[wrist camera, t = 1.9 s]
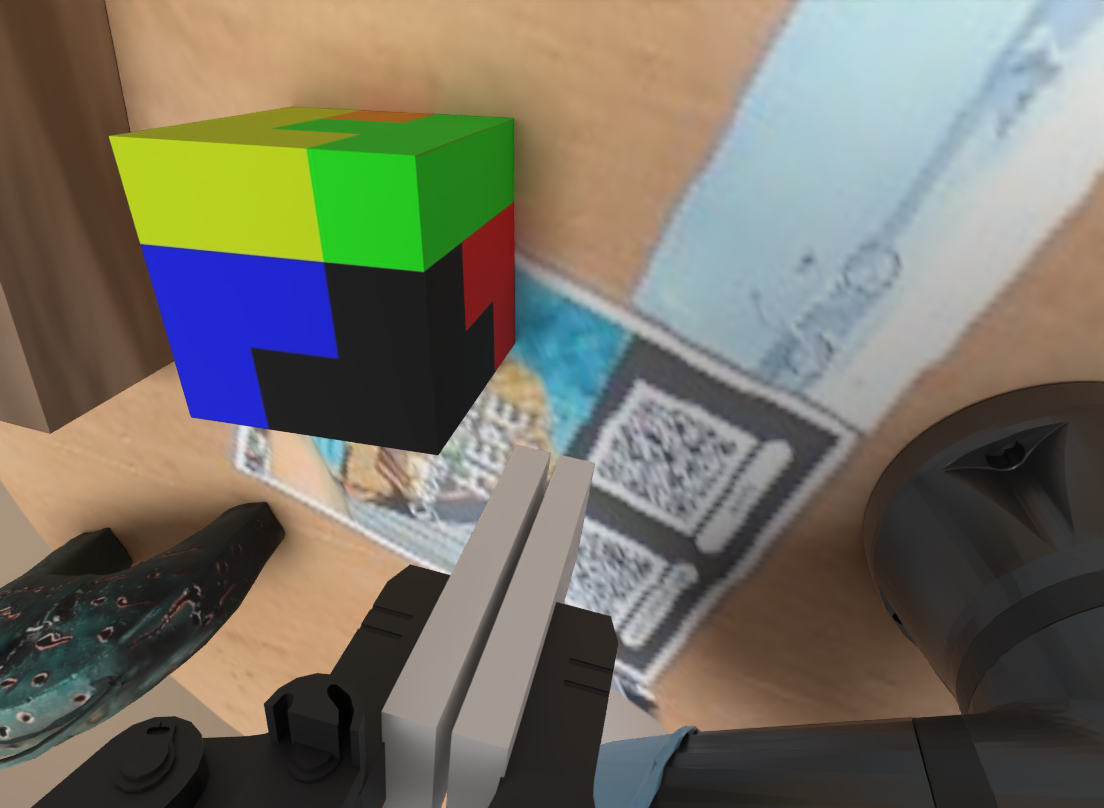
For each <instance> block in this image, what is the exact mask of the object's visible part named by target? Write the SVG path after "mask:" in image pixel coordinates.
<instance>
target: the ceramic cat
mask: <svg viewBox="0 0 1104 808" xmlns="http://www.w3.org/2000/svg"><path fill="white" fill-rule="evenodd" d="M283 538H284V531H283V529H282V528H281V526H280V525H279V523H278V522H277V520H276V519H275V518H274V517H273V516H272V514H271V511H270V509H269V508H268V506H267V504H266V503H247V504H243V505H239V506H237V507H235V508H232V509H229V510H227V511H226V512H225V513H223V514H222V515H221V516H220V517H219V518H217V519H216V520H215V521H214V522H212V523H211V524H210V525H208V526H207V527H205V528H204V529H203V530H201V531H199V532H197V533H196V534H194V535H192V536H191V537H189V538H188V539H186V540H184V541H183V542H181V543H180V544H178V545H176V546H175V547H173V548H171V549H169V550H167V551H165V552H163V553H161V554H159V555H157V556H155V557H153V558H151V559H149V560H147V561H145V562H143V563H140V564H138V565H136V566H133V567H131V559H130V556H129V554H128V553H127V551H126V549H125V548H124V547H123V545H122V544H121V543H120V542H119V541H118V539H117V538H116V537H115V536H114V535H113V534H112V532H111V531H110V529H109V528H106V529H102V530H100V531H97V532H95V533H89V534H81V535H79V536H77V537H75V538H73V539H71V540H70V541H68V542H67V543H66V544H64V545H63V546H62V547H60V548H58V549H57V550H55V551H53V552H52V553H51V554H50V555H48V556H47V557H46V558H45V559H44V560H42V561H41V562H40V563H38V564H37V565H36V566H34V567H33V568H32V569H30V570H29V571H28V572H26V573H25V574H23V575H22V576H21V577H19V578H17V579H15V580H14V581H12V582H10V583H8V584H7V585H5V586H4V587H2V588H0V757H3V756H7V755H11V754H16V755H14V756H10V757H7V758H4V759H1V760H0V770H1V769H4V768H8V767H12V766H15V765H18V764H20V763H23V762H26V761H29V760H31V759H34V758H36V757H38V756H39V755H41V754H42V753H44V752H46V751H47V750H49V749H51V748H52V747H54V746H57V745H59V744H61V743H63V742H64V741H66V740H68V739H70V738H72V737H74V736H76V735H78V734H80V733H83V732H85V731H87V730H89V729H91V728H93V727H95V726H96V725H98V724H100V723H102V722H104V721H105V720H107V719H109V718H110V717H112V716H114V715H115V714H116V713H118V712H120V711H121V710H122V709H124V708H125V707H127V706H128V705H130V704H131V703H132V702H134V701H136V700H137V699H138V698H140V697H142V696H143V695H144V694H146V693H147V692H148V691H150V690H151V689H152V688H154V687H155V686H156V685H157V684H159V683H160V682H161V681H162V680H163V679H164V678H166V677H167V676H168V675H169V674H171V673H172V672H173V671H175V670H176V669H177V668H179V667H180V666H181V665H182V664H184V663H185V662H186V661H187V660H188V659H190V658H191V657H192V656H193V655H194V654H195V653H196V652H198V651H199V650H200V649H201V648H202V647H203V646H204V645H206V644H207V642H208V641H209V640H210V639H211V638H212V637H213V636H214V635H215V633H216V632H217V631H218V630H219V629H220V628H221V627H222V626H223V625H224V624H225V623H226V621H227V620H228V619H229V618H230V617H231V615H232V614H233V613H234V612H235V611H236V610H237V609H238V607H239V606H240V605H241V603H242V601H243V600H244V598H245V596H246V595H247V593H248V592H249V590H250V588H251V587H252V585H253V584H254V582H255V580H256V579H257V577H258V575H259V574H260V572H261V570H262V568H263V567H264V565H265V563H266V562H267V561H268V559H269V558H270V557H271V555H272V554H273V552H274V551H275V550H276V548H277V547H278V546H279V544H280V543H281V541H282V540H283ZM130 567H131V568H130Z"/></svg>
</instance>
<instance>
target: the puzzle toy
mask: <svg viewBox="0 0 1104 808" xmlns="http://www.w3.org/2000/svg"><path fill="white" fill-rule="evenodd" d="M109 139H110V142H111V146H112V149H113V152H114V156H115V159H116V163H117V166H118V169H119V173H120V176H121V180H122V183H123V187H124V190H125V193H126V197H127V200H128V204H129V207H130V210H131V214H132V217H133V221H134V224H135V228H136V231H137V234H138V238H139V241H140V245H141V248H142V251H143V255H144V258H145V262H146V265H147V269H148V272H149V275H150V279H151V282H152V286H153V289H154V293H155V296H156V299H157V303H158V306H159V310H160V313H161V316H162V320H163V323H164V327H165V330H166V334H167V337H168V340H169V344H170V347H171V351H172V354H173V357H174V361H175V364H176V368H177V371H178V375H179V378H180V381H181V385H182V388H183V392H184V395H185V398H186V402H187V405H188V409H189V412H190V416H191V417H192V418H199V419H205V420H212V421H218V422H225V423H231V424H238V425H244V426H251V427H257V428H264V429H270V430H277V431H283V432H290V433H296V434H303V435H309V436H316V437H322V438H329V439H335V440H342V441H348V442H355V443H361V444H368V445H374V446H381V447H387V448H394V449H400V450H407V451H413V452H420V453H426V454H433V455H439V453H440V452H441V450H442V449H443V448H444V446H445V445H446V443H447V442H448V440H449V439H450V437H451V436H452V434H453V433H454V431H455V430H456V429H457V427H458V426H459V424H460V423H461V421H462V420H463V418H464V417H465V415H466V414H467V413H468V411H469V410H470V408H471V407H472V405H473V404H474V402H475V401H476V399H477V398H478V396H479V395H480V394H481V392H482V391H483V389H484V388H485V386H486V385H487V383H488V382H489V380H490V379H491V378H492V376H493V375H494V373H495V372H496V370H497V369H498V367H499V366H500V364H501V363H502V361H503V360H504V359H505V357H506V356H507V354H508V353H509V351H510V350H511V348H512V347H513V345H514V344H515V262H514V118H502V117H482V116H463V115H443V114H424V113H404V112H385V111H365V110H346V109H326V108H307V107H287V108H281V109H275V110H268V111H262V112H256V113H250V114H243V115H237V116H231V117H225V118H218V119H212V120H206V121H200V122H193V123H187V124H181V125H174V126H168V127H162V128H156V129H149V130H143V131H137V132H131V133H124V134H118V135H112V136H109Z"/></svg>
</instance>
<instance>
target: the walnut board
mask: <svg viewBox="0 0 1104 808" xmlns="http://www.w3.org/2000/svg"><path fill="white" fill-rule="evenodd" d="M124 133H130V131H129V125H128V120H127V115H126V110H125V105H124V100H123V95H122V90H121V85H120V80H119V75H118V70H117V64H116V59H115V54H114V49H113V44H112V39H111V34H110V29H109V24H108V19H107V14H106V8H105V3H104V0H0V421H3V422H7V423H11V424H14V425H18V426H22V427H26V428H30V429H34V430H38V431H41V432H45V433H49V434H51V433H53V432H54V431H56V430H58V429H59V428H61V427H63V426H64V425H66V424H68V423H70V422H71V421H73V420H75V419H76V418H78V417H80V416H81V415H83V414H85V413H87V412H88V411H90V410H92V409H93V408H95V407H97V406H98V405H100V404H102V403H104V402H105V401H107V400H109V399H110V398H112V397H114V396H115V395H117V394H119V393H121V392H122V391H124V390H126V389H127V388H129V387H131V386H132V385H134V384H136V383H138V382H139V381H141V380H143V379H144V378H146V377H148V376H149V375H151V374H153V373H155V372H156V371H158V370H160V369H161V368H163V367H165V366H166V365H168V364H170V363H172V362H173V361H174V357H173V354H172V351H171V347H170V344H169V340H168V337H167V334H166V330H165V327H164V323H163V320H162V316H161V313H160V310H159V306H158V303H157V299H156V296H155V293H154V289H153V286H152V282H151V279H150V275H149V272H148V269H147V265H146V262H145V258H144V255H143V251H142V248H141V245H140V241H139V238H138V234H137V231H136V228H135V224H134V221H133V217H132V214H131V210H130V207H129V204H128V200H127V197H126V193H125V190H124V187H123V183H122V180H121V176H120V173H119V169H118V166H117V163H116V159H115V156H114V152H113V149H112V146H111V142H110V139H109V136H112V135H118V134H124Z"/></svg>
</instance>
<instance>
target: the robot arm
mask: <svg viewBox="0 0 1104 808" xmlns="http://www.w3.org/2000/svg"><path fill="white" fill-rule="evenodd" d="M550 455H551V453H550V452H545V451H541V450H537V449H533V448H528V447H524V446H520V445H517V446H516V448H515V450H514V452H513V454H512V456H511V458H510V460H509V462H508V464H507V466H506V468H505V469H504V471H503V473H502V475H501V477H500V479H499V481H498V483H497V485H496V487H495V489H494V491H493V493H492V495H491V497H490V499H489V501H488V503H487V505H486V507H485V509H484V511H483V513H482V515H481V517H480V519H479V521H478V523H477V525H476V527H475V529H474V530H473V532H472V534H471V536H470V538H469V540H468V542H467V544H466V546H465V548H464V550H463V552H462V554H461V556H460V558H459V560H458V562H457V564H456V566H455V568H454V570H453V572H452V574H451V575H448V574H444V573H440V572H436V571H433V570H429V569H425V568H421V567H418V566H414V565H409V566H408V567H406V568H405V569H404V570H402V571H401V572H400V573H398V574H397V575H396V576H394V577H393V578H392V579H390V580H389V581H388V582H387V583H386V585H385V586H384V588H383V590H382V591H381V593H380V595H379V596H378V598H377V599H376V601H375V603H374V604H373V608H372V609H370V611H369V612H368V614H367V616H366V617H365V619H364V620H363V622H362V624H361V627H360V629H358V630H357V632H356V633H355V635H354V637H353V638H352V640H351V641H350V643H349V645H348V646H347V648H346V650H345V651H344V653H343V654H342V656H341V658H340V659H339V661H338V662H337V664H336V666H335V667H334V669H333V671H332V672H331V674H320V673H316V674H312V675H307V676H303V677H299V678H296V679H294V680H293V681H291V682H289V683H287V684H286V685H284V686H282V687H280V688H279V689H278V690H277V691H276V692H275V693H274V694H273V695H272V696H271V697H270V698H269V699H268V700H267V701H266V702H265V703H264V707H265V713H266V719H267V725H268V731H269V732H268V733H266V734H260V735H253V736H242V737H217V738H202V735H201V733H200V732H199V731H198V729H197V728H196V727H195V726H194V725H193V724H192V722H189V721H187V720H184V719H181V718H178V717H175V716H173V717H154V718H151V719H149V720H146V721H143V722H140V723H138V724H134V725H132V726H131V727H129V728H128V729H126V730H125V731H123V732H122V733H120V734H118V735H117V736H115V737H114V738H112V739H111V740H110V741H109V742H108V743H107V744H105V745H104V746H103V747H102V748H101V749H100V750H99V751H97V752H96V753H95V754H94V755H92V756H91V757H90V758H89V759H88V760H87V761H86V762H84V763H83V764H82V765H81V766H80V767H78V768H77V769H76V770H75V771H74V772H72V773H71V774H70V775H69V776H68V777H67V778H65V779H64V780H63V781H62V782H61V783H59V784H58V785H57V786H56V787H55V788H54V789H52V790H51V791H50V792H49V793H48V794H46V796H44V797H43V798H42V799H41V800H39V801H38V802H37V803H36V804H35V805H34V806H32V807H31V808H382V807H383V808H441V806H442V803H443V801H444V798H445V795H446V793H447V805H446V808H1104V383H1066V384H1055V385H1048V386H1041V387H1035V388H1030V389H1025V390H1021V391H1017V392H1012V393H1009V394H1005V395H1002V396H999V397H995V398H993V399H990V400H987V401H984V402H981V403H979V404H977V405H974V406H972V407H969V408H967V409H965V410H963V411H961V412H959V413H957V414H955V415H953V416H951V417H949V418H947V419H946V420H944V421H942V422H940V423H939V424H937V425H936V426H934V427H933V428H931V429H929V430H928V431H927V432H925V433H924V434H923V435H921V436H920V437H919V438H917V439H916V440H915V441H914V442H913V443H911V444H910V445H909V446H908V447H907V448H906V449H905V450H904V451H903V452H902V453H901V454H900V455H899V456H898V457H897V458H896V459H895V460H894V461H893V462H892V463H891V465H890V466H889V467H888V469H887V470H886V471H885V472H884V474H883V475H882V477H881V478H880V480H879V482H878V483H877V485H876V487H875V489H874V491H873V493H872V495H871V498H870V500H869V503H868V506H867V509H866V513H865V518H864V525H863V543H864V550H865V555H866V559H867V562H868V566H869V570H870V573H871V577H872V580H873V584H874V587H875V590H876V592H877V595H878V597H879V599H880V601H881V603H882V605H883V607H884V608H885V610H886V612H887V613H888V615H889V616H890V618H891V619H892V621H893V622H894V623H895V624H896V626H897V627H898V628H899V629H900V630H901V631H902V633H903V634H904V635H905V636H906V637H907V638H908V639H909V640H910V641H912V642H913V643H914V644H915V645H916V646H917V647H919V648H920V650H921V651H922V653H923V654H924V655H925V657H926V658H927V660H928V662H929V663H930V665H931V666H932V668H933V669H934V671H935V672H936V674H937V675H938V677H939V678H940V679H941V681H942V682H943V683H944V684H945V686H946V687H947V688H948V690H949V691H950V692H951V693H952V695H953V696H954V697H955V698H956V700H957V703H958V706H959V708H960V711H961V714H962V715H951V716H937V717H923V718H912V717H909V718H894V719H880V720H865V721H850V722H836V723H821V724H807V725H792V726H777V727H763V728H748V729H734V730H719V731H704V732H700V730H698V729H697V728H696V727H695V726H685V727H682V728H680V729H678V730H677V731H675V732H674V733H673V734H666V735H659V736H651V737H643V738H636V739H628V740H620V741H613V742H610V743H606V744H602V745H600V744H601V738H602V733H603V726H604V721H605V716H606V710H607V704H608V697H609V692H610V687H611V681H612V676H613V670H614V664H615V658H616V653H617V647H618V640H617V637H616V633H615V630H614V626H613V623H612V619H611V616H607V615H604V614H600V613H596V612H592V611H589V610H585V609H581V608H577V607H574V606H570V605H566V604H564V601H565V597H566V594H567V590H568V586H569V583H570V579H571V576H572V572H573V569H574V565H575V562H576V558H577V554H578V549H579V543H580V538H581V533H582V528H583V523H584V518H585V512H586V507H587V502H588V497H589V492H590V487H591V481H592V476H593V471H594V466H595V463H592V462H588V461H584V460H579V459H575V458H571V457H567V456H562V455H560V458H559V460H558V463H557V465H556V468H555V470H554V473H553V476H552V478H551V481H550V483H549V486H548V488H547V491H546V493H545V489H546V482H547V476H548V469H549V462H550ZM447 790H448V791H447Z"/></svg>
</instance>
